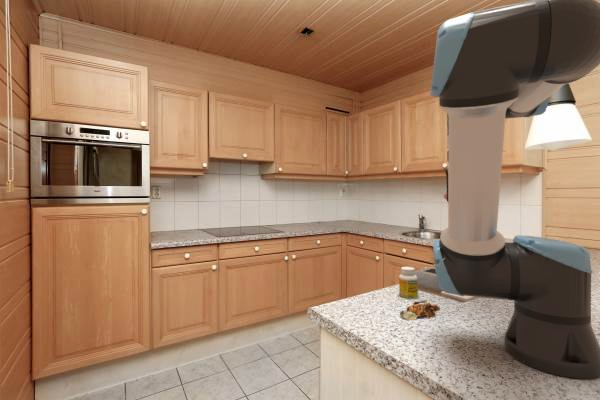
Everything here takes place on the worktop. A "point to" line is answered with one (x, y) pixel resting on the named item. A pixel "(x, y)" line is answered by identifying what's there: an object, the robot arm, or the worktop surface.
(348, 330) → the worktop surface
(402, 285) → the supplement bottle
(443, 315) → the worktop surface
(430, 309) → the brown mottled lumpy part
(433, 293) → the board
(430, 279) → the eye block
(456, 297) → the mat
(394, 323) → the worktop surface
